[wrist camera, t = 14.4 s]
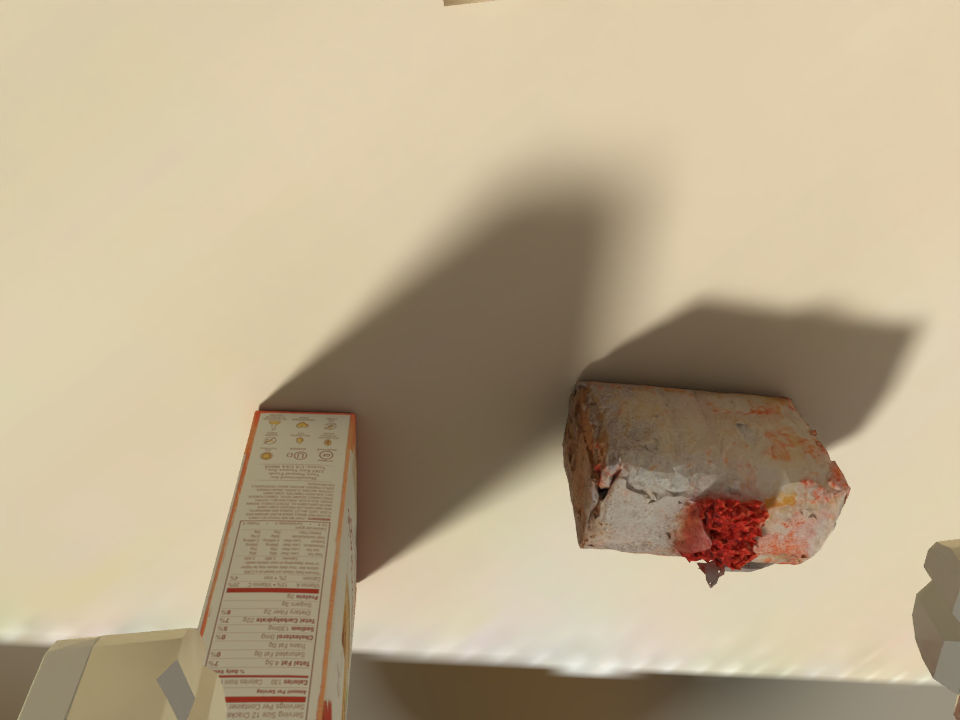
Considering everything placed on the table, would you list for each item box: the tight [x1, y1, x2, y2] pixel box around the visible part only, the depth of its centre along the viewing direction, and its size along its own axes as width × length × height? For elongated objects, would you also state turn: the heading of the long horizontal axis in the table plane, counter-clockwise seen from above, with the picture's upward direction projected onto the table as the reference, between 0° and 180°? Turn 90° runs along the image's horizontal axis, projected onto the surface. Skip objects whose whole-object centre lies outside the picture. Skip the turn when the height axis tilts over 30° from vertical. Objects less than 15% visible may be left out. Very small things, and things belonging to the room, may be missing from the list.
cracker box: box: [198, 411, 357, 720], centre depth 44 cm, size 14×6×21 cm, turn 176°
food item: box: [562, 380, 850, 588], centre depth 47 cm, size 14×8×10 cm, turn 82°
